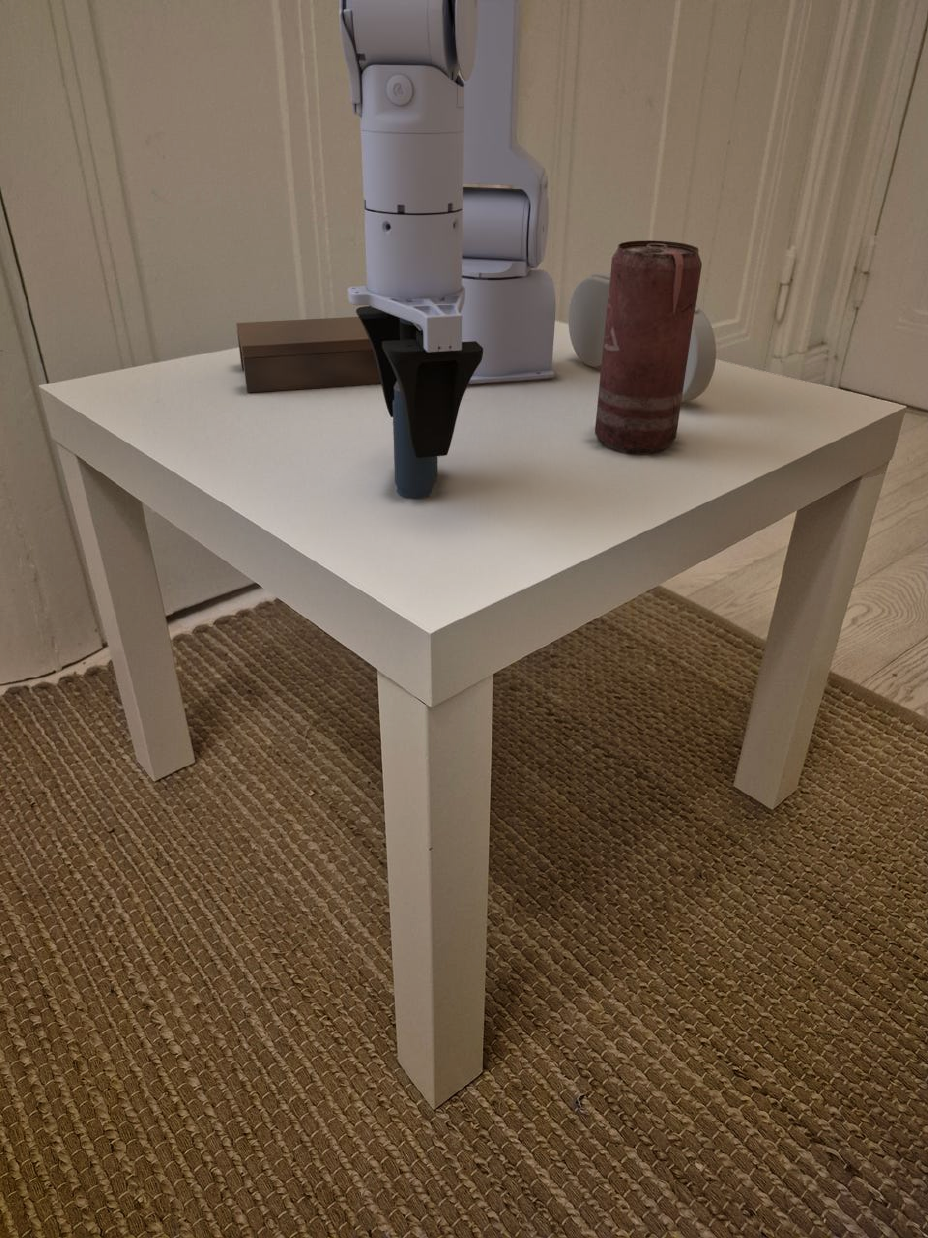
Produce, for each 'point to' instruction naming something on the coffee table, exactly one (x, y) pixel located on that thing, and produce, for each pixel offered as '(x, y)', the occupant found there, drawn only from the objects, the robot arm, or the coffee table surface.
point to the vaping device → (410, 471)
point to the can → (646, 344)
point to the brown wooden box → (306, 354)
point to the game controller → (590, 330)
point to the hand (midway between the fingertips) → (416, 433)
